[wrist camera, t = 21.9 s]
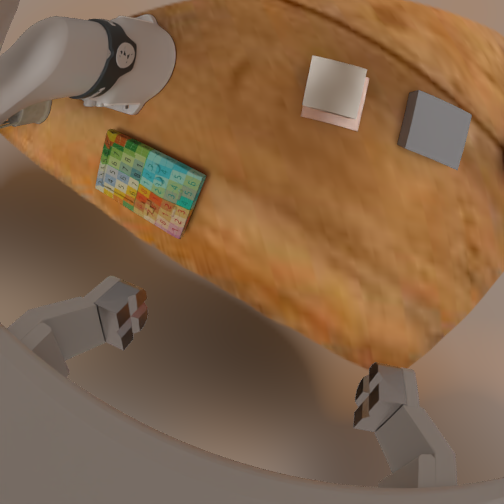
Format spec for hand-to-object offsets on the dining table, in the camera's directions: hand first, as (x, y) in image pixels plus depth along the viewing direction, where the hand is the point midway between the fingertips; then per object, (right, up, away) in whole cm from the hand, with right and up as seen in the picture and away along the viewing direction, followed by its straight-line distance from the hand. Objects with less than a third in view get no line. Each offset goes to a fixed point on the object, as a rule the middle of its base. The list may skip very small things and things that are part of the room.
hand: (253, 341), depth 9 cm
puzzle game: (-17, +16, +39) cm, 45 cm away
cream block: (+11, +24, +25) cm, 36 cm away
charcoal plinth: (+25, +20, +23) cm, 39 cm away
